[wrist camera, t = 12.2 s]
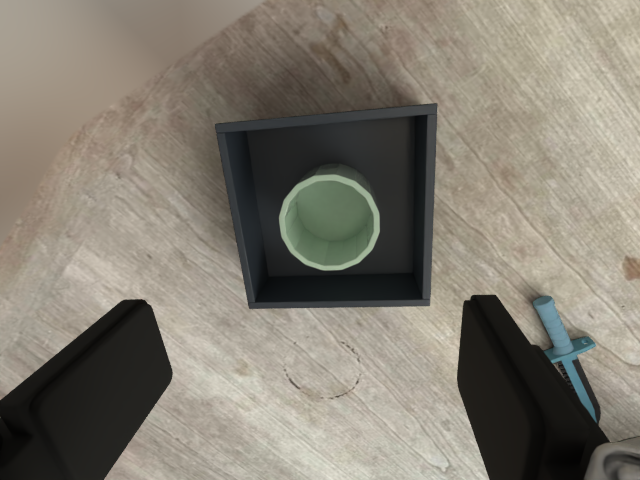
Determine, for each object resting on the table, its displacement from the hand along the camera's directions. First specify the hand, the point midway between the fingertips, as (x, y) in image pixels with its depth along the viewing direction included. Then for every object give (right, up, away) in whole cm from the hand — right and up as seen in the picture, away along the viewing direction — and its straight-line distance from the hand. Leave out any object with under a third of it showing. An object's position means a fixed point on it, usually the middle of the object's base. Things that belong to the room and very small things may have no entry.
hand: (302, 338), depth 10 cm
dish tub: (+2, +6, +18) cm, 19 cm away
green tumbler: (+2, +6, +18) cm, 19 cm away
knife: (+24, -9, +22) cm, 33 cm away
